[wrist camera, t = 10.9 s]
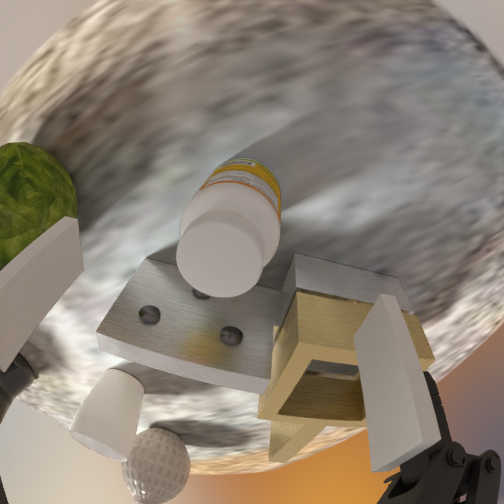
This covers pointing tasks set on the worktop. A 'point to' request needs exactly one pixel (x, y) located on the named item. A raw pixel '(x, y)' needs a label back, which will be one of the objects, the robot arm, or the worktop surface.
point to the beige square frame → (317, 387)
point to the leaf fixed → (228, 321)
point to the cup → (110, 415)
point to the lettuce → (31, 196)
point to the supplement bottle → (230, 228)
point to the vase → (156, 466)
